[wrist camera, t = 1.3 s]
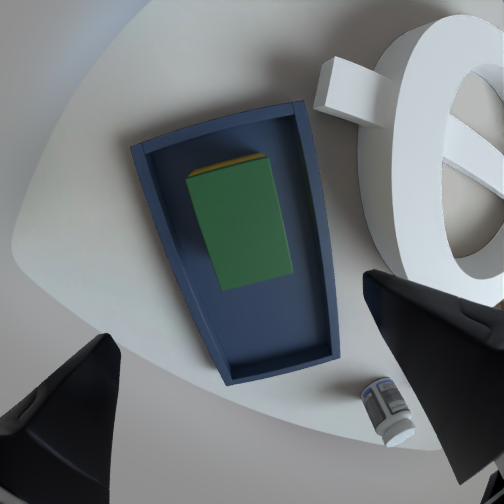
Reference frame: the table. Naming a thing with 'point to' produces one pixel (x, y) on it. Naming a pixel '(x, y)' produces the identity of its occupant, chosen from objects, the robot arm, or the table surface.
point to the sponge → (241, 220)
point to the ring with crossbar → (422, 148)
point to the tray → (297, 232)
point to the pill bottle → (388, 412)
